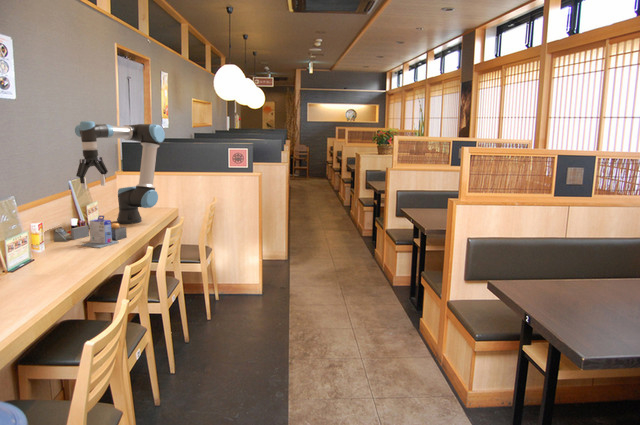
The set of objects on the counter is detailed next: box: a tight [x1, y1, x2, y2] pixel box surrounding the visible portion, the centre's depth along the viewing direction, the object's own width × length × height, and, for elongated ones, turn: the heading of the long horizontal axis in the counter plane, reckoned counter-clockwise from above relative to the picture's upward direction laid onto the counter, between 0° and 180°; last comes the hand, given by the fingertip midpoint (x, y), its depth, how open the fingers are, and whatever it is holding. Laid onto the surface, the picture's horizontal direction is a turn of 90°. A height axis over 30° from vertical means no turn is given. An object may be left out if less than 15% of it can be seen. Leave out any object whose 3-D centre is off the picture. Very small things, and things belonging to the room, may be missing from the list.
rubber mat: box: [80, 240, 120, 249], centre depth 251 cm, size 13×13×1 cm
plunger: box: [111, 222, 120, 229], centre depth 263 cm, size 4×4×6 cm
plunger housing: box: [111, 226, 128, 241], centre depth 263 cm, size 8×8×6 cm
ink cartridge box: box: [89, 215, 113, 244], centre depth 251 cm, size 10×6×14 cm, turn 74°
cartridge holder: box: [70, 225, 91, 241], centre depth 263 cm, size 10×16×6 cm, turn 69°
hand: (94, 187), depth 265 cm, fingers open, 13 cm apart
